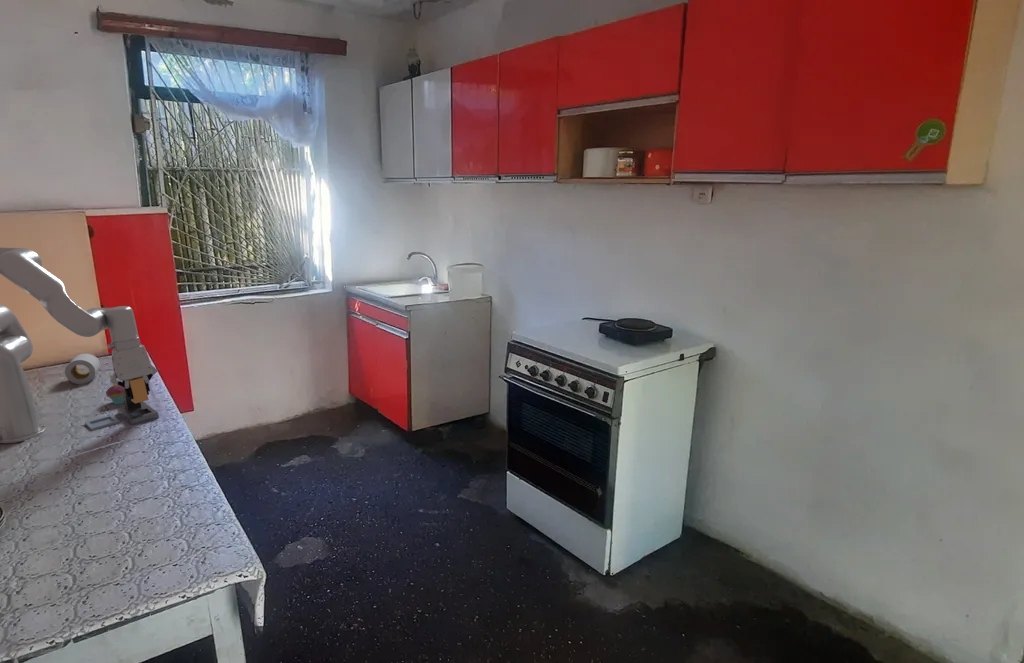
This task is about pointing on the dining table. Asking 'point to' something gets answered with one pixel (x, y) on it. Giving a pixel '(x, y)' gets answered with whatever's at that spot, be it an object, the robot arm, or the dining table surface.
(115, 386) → the cupcake
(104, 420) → the tray
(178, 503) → the dining table surface
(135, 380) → the plug
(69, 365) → the toilet paper
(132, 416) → the grey socket base
